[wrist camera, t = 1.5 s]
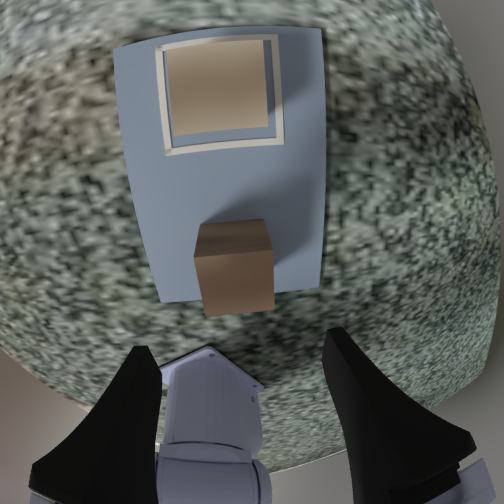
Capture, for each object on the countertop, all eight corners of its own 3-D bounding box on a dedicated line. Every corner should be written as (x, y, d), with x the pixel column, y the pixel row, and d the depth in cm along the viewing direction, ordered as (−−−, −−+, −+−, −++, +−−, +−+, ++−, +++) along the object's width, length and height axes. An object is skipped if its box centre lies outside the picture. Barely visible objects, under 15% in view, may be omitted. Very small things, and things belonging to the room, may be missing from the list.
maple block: (258, 122, 14) (268, 126, 11) (187, 129, 14) (174, 136, 11) (253, 56, 12) (262, 39, 9) (181, 63, 12) (166, 50, 9)
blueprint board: (316, 282, 21) (319, 288, 20) (162, 297, 20) (161, 303, 20) (317, 31, 12) (321, 28, 11) (116, 50, 11) (112, 49, 11)
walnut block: (265, 271, 19) (274, 309, 16) (208, 276, 19) (206, 316, 16) (263, 218, 17) (273, 249, 14) (199, 224, 17) (193, 257, 14)
